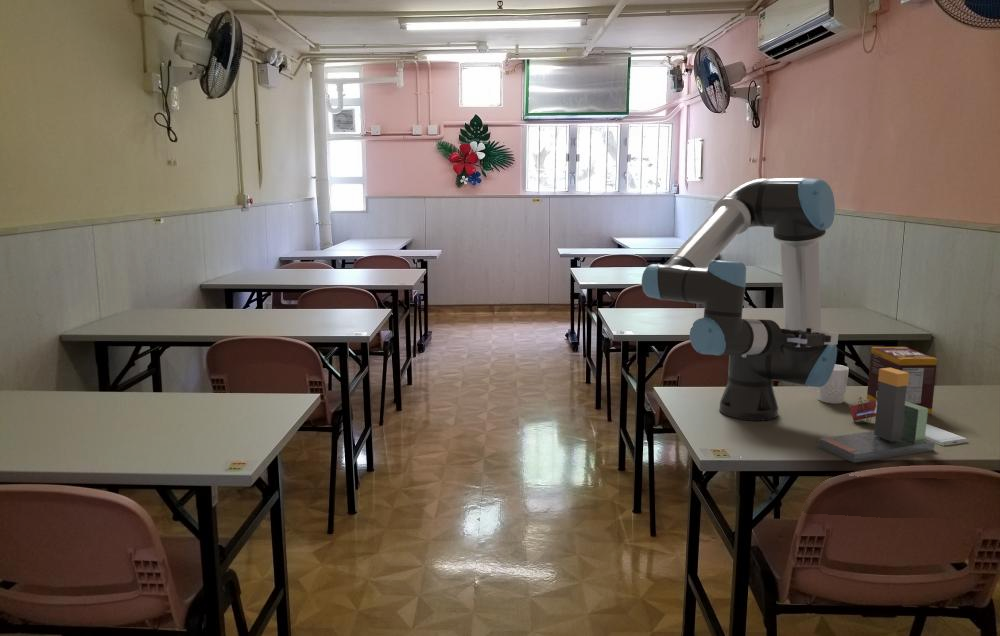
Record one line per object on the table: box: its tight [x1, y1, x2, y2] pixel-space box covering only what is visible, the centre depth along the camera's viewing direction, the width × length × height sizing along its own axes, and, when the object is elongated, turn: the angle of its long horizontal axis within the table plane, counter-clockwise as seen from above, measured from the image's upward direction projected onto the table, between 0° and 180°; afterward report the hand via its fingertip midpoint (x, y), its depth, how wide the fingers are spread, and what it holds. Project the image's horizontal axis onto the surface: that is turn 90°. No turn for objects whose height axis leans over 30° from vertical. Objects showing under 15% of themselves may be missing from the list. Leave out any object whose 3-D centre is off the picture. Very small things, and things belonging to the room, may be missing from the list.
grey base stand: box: [817, 401, 936, 464], centre depth 176 cm, size 24×11×10 cm, turn 110°
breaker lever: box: [873, 368, 909, 441], centre depth 176 cm, size 3×5×16 cm, turn 20°
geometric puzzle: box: [848, 396, 877, 425], centre depth 195 cm, size 7×7×8 cm
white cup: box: [817, 363, 850, 405], centre depth 214 cm, size 8×8×10 cm
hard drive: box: [925, 423, 969, 447], centre depth 186 cm, size 2×8×12 cm
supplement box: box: [866, 346, 938, 415], centre depth 209 cm, size 10×15×16 cm
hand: (835, 338), depth 168 cm, fingers closed
